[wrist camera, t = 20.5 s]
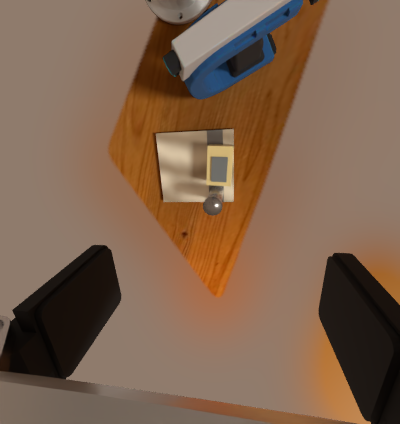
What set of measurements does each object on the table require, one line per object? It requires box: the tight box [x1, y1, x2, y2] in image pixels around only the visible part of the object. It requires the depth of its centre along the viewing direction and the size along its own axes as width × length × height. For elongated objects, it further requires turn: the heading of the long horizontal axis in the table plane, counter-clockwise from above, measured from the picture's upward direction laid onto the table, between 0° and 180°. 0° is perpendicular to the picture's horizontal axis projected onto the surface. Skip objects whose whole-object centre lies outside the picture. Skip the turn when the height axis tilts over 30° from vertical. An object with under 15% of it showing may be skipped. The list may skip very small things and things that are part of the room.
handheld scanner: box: [163, 0, 319, 99], centre depth 28 cm, size 5×16×20 cm, turn 117°
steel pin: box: [203, 186, 224, 215], centre depth 41 cm, size 3×3×9 cm
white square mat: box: [156, 129, 234, 202], centre depth 44 cm, size 14×15×1 cm
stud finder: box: [206, 144, 234, 186], centre depth 40 cm, size 7×4×4 cm, turn 178°
